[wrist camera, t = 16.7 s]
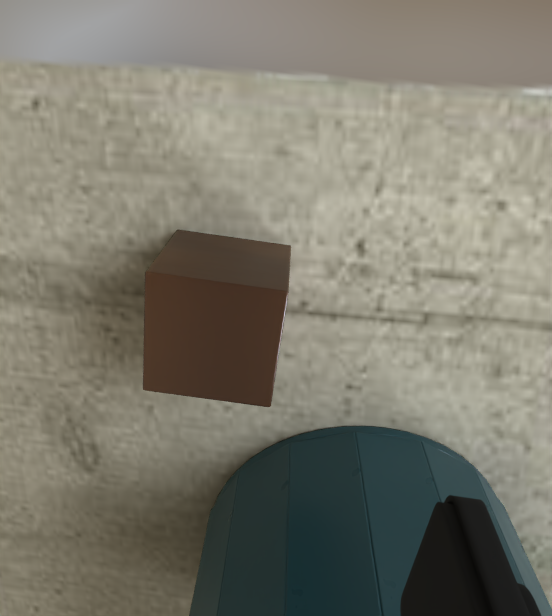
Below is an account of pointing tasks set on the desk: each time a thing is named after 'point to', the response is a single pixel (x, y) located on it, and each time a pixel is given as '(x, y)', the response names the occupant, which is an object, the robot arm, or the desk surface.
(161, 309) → the block
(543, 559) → the desk surface
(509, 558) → the tin
